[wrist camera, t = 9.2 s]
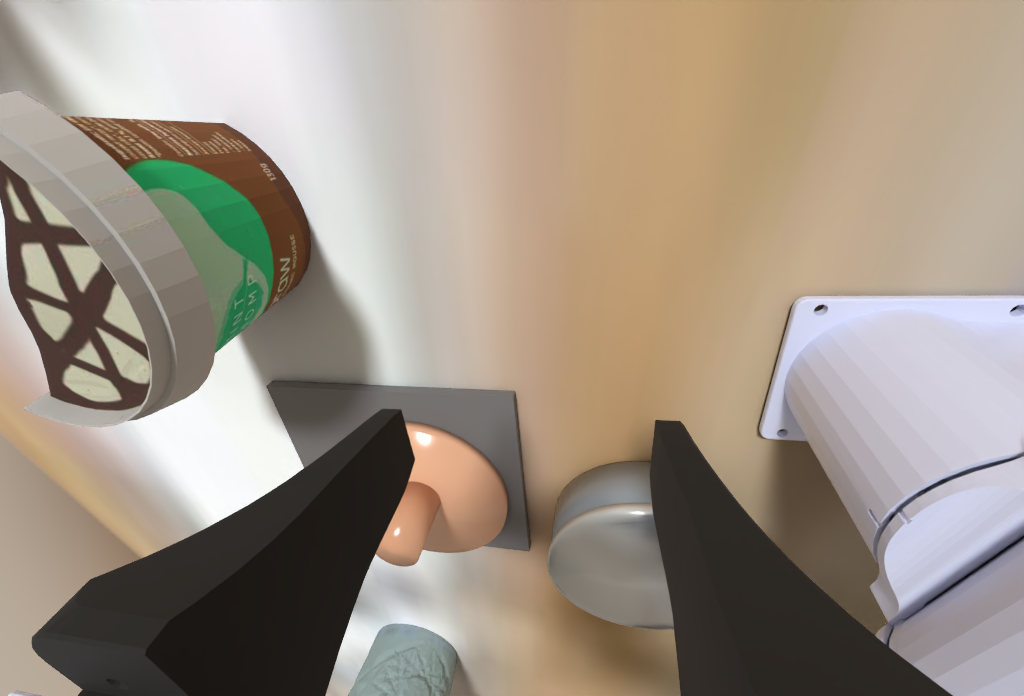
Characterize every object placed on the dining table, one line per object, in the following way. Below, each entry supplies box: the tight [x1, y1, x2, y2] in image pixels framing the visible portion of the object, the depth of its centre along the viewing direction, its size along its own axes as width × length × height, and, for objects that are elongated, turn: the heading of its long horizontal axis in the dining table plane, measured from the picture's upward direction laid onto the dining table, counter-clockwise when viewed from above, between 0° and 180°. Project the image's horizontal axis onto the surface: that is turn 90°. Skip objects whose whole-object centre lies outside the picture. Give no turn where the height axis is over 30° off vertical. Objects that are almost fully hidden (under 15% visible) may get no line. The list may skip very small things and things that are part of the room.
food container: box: [0, 91, 311, 427], centre depth 18 cm, size 12×6×10 cm, turn 156°
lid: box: [375, 421, 509, 566], centre depth 28 cm, size 12×12×5 cm
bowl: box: [548, 461, 674, 630], centre depth 26 cm, size 11×11×4 cm
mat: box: [267, 381, 530, 551], centre depth 29 cm, size 16×14×1 cm
